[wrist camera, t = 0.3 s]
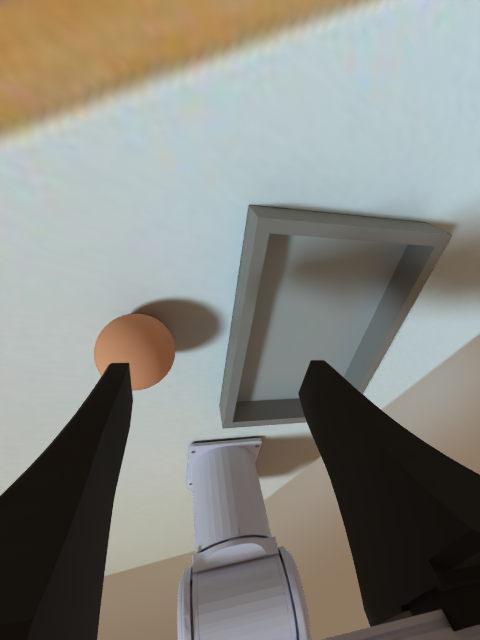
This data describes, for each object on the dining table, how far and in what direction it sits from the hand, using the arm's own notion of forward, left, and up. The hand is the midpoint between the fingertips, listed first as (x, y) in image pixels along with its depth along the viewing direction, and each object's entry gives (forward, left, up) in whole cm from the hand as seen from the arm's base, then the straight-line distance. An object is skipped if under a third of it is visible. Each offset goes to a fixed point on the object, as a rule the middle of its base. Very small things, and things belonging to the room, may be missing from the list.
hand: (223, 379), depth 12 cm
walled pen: (-5, -9, -10) cm, 14 cm away
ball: (-5, +4, -7) cm, 10 cm away
